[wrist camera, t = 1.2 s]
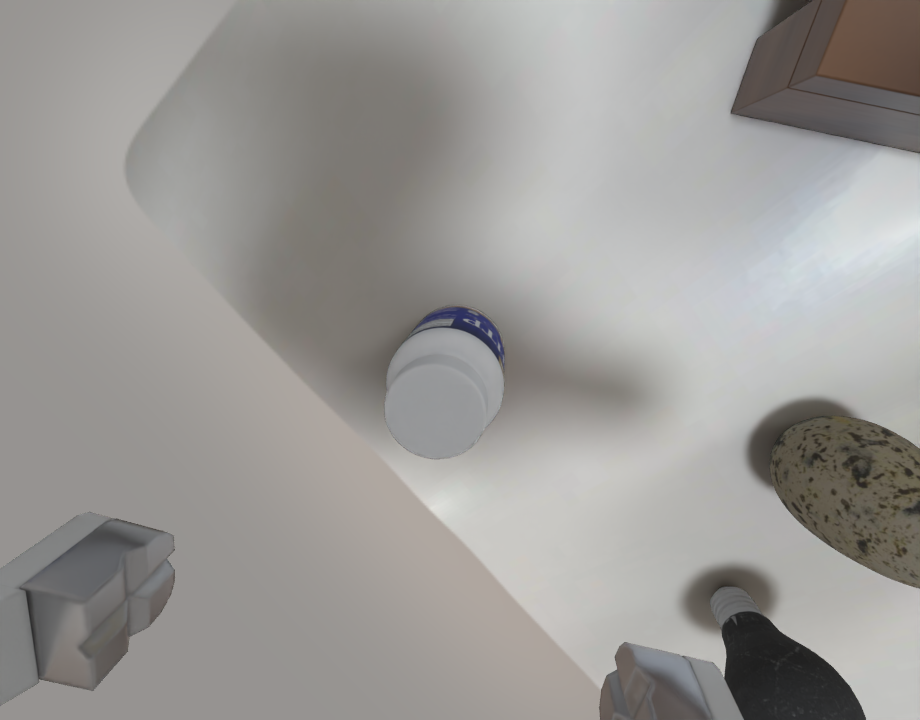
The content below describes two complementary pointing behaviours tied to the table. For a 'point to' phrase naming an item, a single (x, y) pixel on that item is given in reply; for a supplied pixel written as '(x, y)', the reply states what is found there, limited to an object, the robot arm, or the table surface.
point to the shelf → (840, 71)
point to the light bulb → (776, 668)
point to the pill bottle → (445, 383)
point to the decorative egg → (854, 491)
